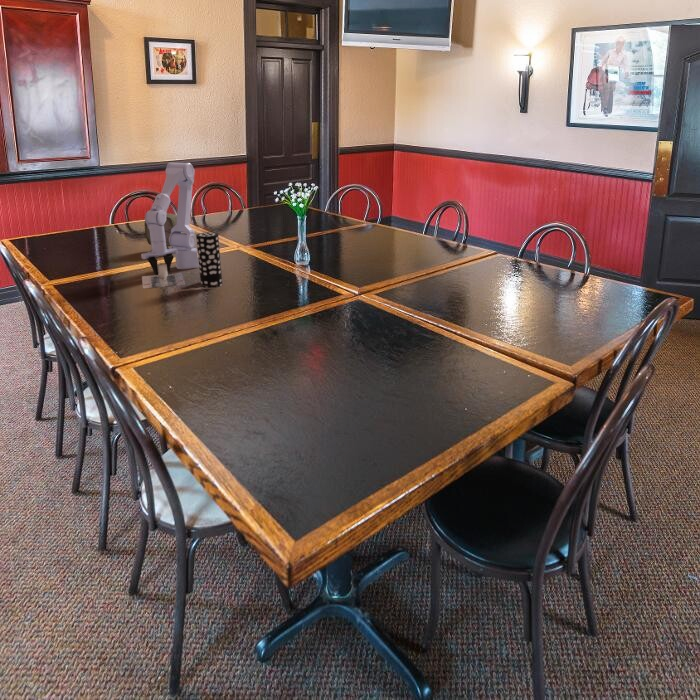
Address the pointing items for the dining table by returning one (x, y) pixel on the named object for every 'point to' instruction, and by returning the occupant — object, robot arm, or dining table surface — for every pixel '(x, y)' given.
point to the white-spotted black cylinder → (209, 259)
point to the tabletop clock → (169, 224)
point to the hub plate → (163, 280)
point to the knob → (162, 270)
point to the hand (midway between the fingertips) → (162, 273)
